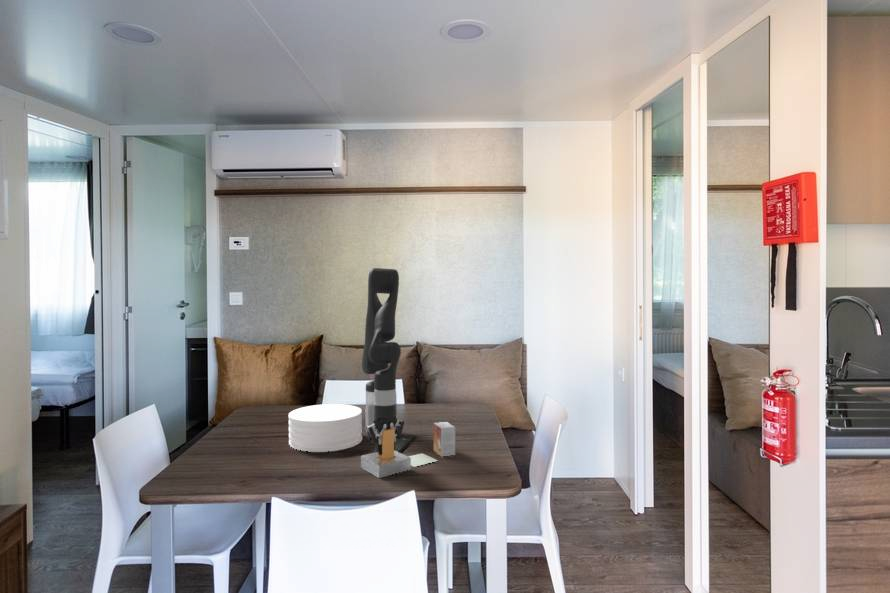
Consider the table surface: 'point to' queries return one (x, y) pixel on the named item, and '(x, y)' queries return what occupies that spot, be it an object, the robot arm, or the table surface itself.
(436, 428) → the small box
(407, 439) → the remote control
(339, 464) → the table surface
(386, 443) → the key peg
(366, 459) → the socket block
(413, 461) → the mat
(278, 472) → the table surface
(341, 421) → the plate stack
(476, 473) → the table surface
